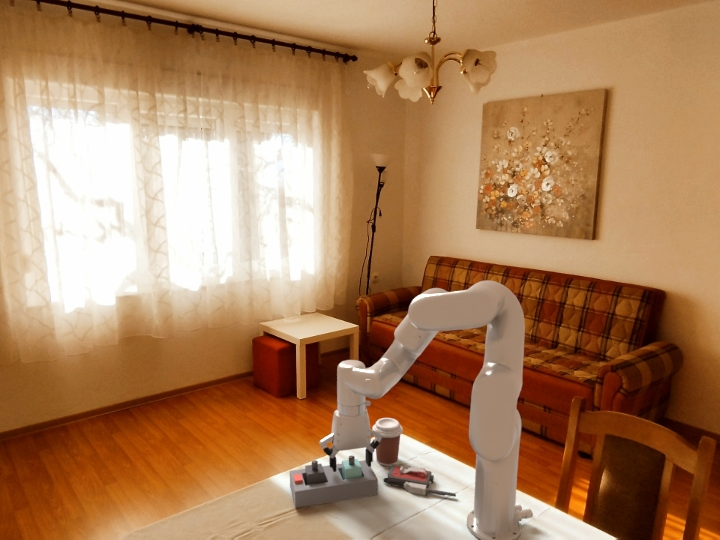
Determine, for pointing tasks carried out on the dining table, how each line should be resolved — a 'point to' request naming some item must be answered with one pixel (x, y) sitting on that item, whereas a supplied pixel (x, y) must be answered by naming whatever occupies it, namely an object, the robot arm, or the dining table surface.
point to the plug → (351, 468)
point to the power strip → (330, 484)
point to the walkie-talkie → (413, 480)
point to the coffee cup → (388, 441)
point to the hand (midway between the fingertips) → (351, 466)
